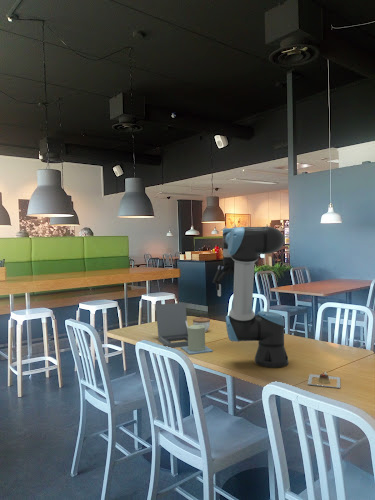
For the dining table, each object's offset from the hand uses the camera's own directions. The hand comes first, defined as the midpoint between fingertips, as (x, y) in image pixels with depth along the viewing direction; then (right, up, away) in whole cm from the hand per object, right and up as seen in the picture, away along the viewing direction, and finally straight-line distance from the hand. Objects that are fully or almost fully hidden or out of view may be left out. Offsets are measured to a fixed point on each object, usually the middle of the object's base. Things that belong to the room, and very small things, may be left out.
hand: (230, 295), depth 219 cm
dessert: (+31, -28, -60) cm, 73 cm away
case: (-30, -27, +7) cm, 41 cm away
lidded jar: (-15, -27, +31) cm, 44 cm away
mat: (-19, -27, -10) cm, 35 cm away
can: (-19, -27, -11) cm, 35 cm away
